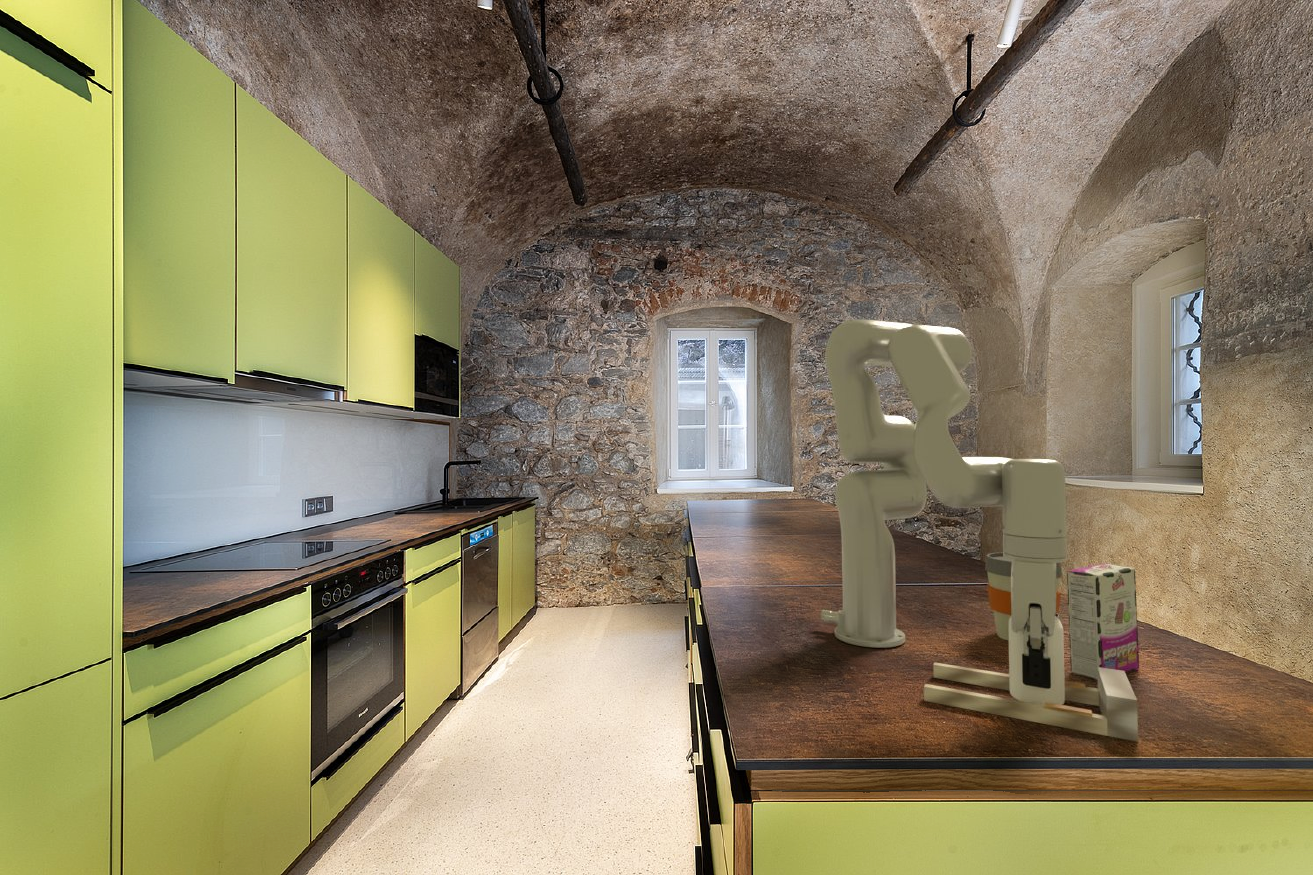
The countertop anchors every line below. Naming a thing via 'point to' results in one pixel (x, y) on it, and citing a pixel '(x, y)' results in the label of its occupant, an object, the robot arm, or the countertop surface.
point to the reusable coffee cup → (1006, 590)
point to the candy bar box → (1102, 619)
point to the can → (1054, 653)
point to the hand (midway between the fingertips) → (1036, 676)
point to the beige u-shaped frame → (1109, 696)
